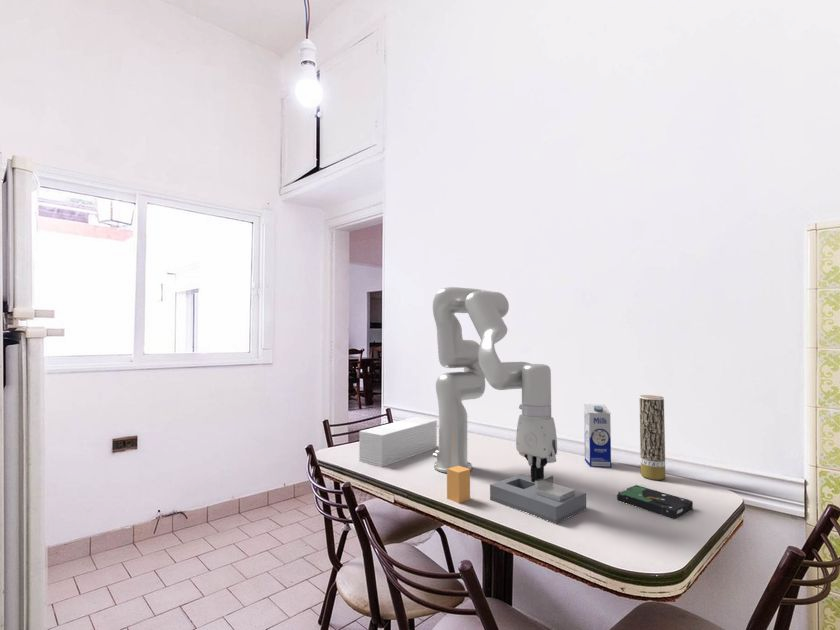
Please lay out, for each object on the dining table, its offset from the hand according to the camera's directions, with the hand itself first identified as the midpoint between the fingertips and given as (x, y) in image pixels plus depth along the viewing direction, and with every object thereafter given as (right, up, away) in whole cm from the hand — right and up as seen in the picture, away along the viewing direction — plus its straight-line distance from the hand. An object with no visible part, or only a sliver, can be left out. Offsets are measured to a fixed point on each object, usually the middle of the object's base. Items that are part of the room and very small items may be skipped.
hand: (537, 481), depth 115 cm
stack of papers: (-38, -8, +48) cm, 62 cm away
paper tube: (+42, -7, +22) cm, 48 cm away
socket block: (0, -6, 0) cm, 6 cm away
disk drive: (+31, -7, 0) cm, 31 cm away
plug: (-20, -6, +4) cm, 22 cm away
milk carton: (+30, -8, +35) cm, 47 cm away
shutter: (+3, -2, -4) cm, 6 cm away
